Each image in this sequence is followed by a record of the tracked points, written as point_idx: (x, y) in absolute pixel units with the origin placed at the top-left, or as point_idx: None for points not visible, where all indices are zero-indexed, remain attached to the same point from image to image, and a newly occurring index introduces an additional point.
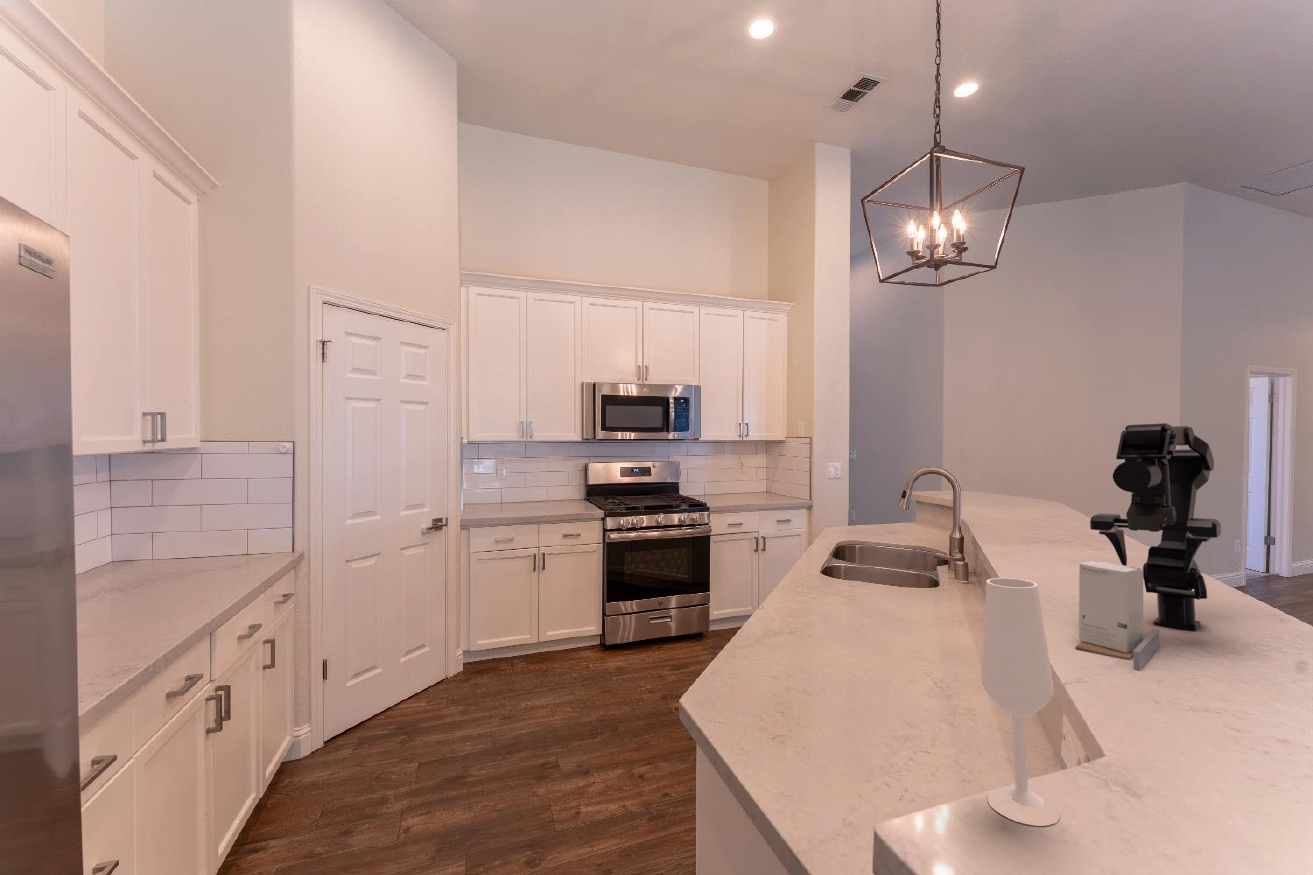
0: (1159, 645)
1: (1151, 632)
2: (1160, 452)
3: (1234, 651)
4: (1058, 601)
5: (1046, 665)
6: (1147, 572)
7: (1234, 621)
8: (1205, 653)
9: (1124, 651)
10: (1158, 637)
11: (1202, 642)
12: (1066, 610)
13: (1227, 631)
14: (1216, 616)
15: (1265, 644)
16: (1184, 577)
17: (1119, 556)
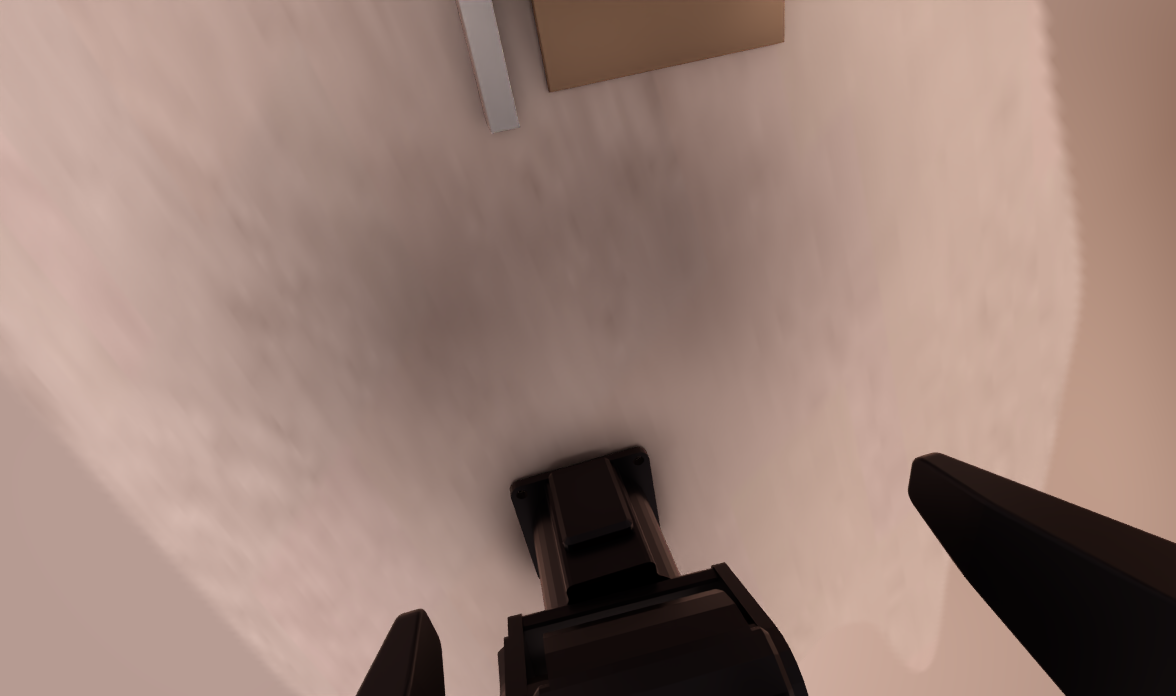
0: (484, 114)
1: (493, 30)
2: None
3: (270, 339)
4: (973, 460)
5: None
6: (761, 640)
7: (491, 672)
8: (309, 193)
9: None
10: (482, 100)
11: (417, 363)
12: (936, 371)
13: (445, 566)
14: None
15: (280, 524)
16: (559, 691)
17: (1068, 509)
